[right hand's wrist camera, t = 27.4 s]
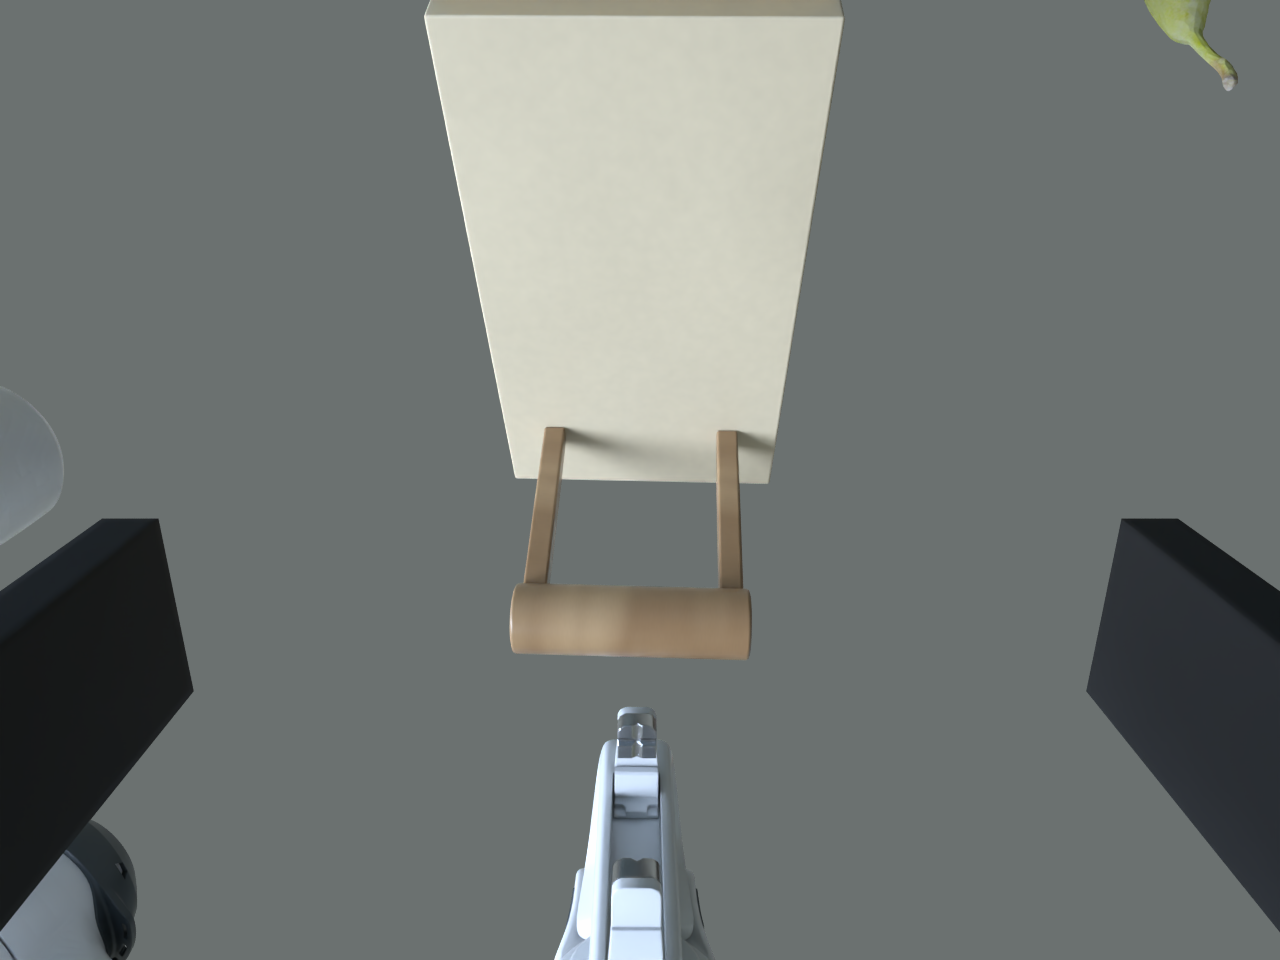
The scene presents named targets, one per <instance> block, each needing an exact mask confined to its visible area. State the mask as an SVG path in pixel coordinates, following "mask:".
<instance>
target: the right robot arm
mask: <svg viewBox="0 0 1280 960" xmlns="http://www.w3.org/2000/svg"><path fill="white" fill-rule="evenodd" d="M192 693H193V686H192V681H191V676H190V671H189V666H188V661H187V656H186V651H185V647H184V642H183V637H182V632H181V627H180V622H179V617H178V612H177V607H176V603H175V598H174V593H173V588H172V583H171V578H170V573H169V568H168V563H167V559H166V554H165V549H164V544H163V539H162V534H161V529H160V524H159V520H158V519H101V520H100V521H98V522H97V523H95V524H94V525H93V526H91V527H90V528H88V529H87V530H86V531H84V532H83V533H81V534H80V535H79V536H77V537H76V538H74V539H73V540H72V541H70V542H69V543H67V544H66V545H65V546H63V547H62V548H60V549H59V550H57V551H56V552H55V553H53V554H52V555H50V556H49V557H48V558H46V559H45V560H44V561H42V562H41V563H39V564H38V565H36V566H35V567H34V568H32V569H31V570H29V571H28V572H27V573H25V574H24V575H22V576H21V577H20V578H18V579H17V580H15V581H14V582H13V583H11V584H10V585H8V586H7V587H6V588H4V589H3V590H1V591H0V932H1V930H2V929H3V928H4V927H5V925H6V924H7V923H8V922H9V920H10V919H11V918H12V917H13V915H14V914H15V913H16V912H17V910H18V909H19V908H20V907H21V905H22V904H23V903H24V902H25V900H26V899H27V898H28V897H29V895H30V894H31V893H32V892H33V891H34V889H35V888H36V887H37V886H38V884H39V883H40V882H41V881H42V879H43V878H44V877H45V876H46V874H47V873H48V872H49V871H50V869H51V868H52V867H53V866H54V864H55V863H56V862H57V861H58V859H59V858H60V857H61V856H62V854H63V853H64V852H65V851H66V849H67V848H68V847H69V846H70V844H71V843H72V842H73V841H74V839H75V838H76V837H77V836H78V834H79V833H80V832H81V831H82V830H83V828H84V827H85V826H86V825H87V823H88V822H89V821H90V820H91V818H92V817H93V816H94V815H95V813H96V812H97V811H98V810H99V808H100V807H101V806H102V805H103V803H104V802H105V801H106V800H107V798H108V797H109V796H110V795H111V793H112V792H113V791H114V790H115V788H116V787H117V786H118V785H119V783H120V782H121V781H122V780H123V778H124V777H125V776H126V775H127V773H128V772H129V771H130V770H131V768H132V767H133V766H134V765H135V763H136V762H137V761H138V760H139V758H140V757H141V756H142V755H143V754H144V752H145V751H146V750H147V749H148V747H149V746H150V745H151V744H152V742H153V741H154V740H155V739H156V737H157V736H158V735H159V734H160V732H161V731H162V730H163V729H164V727H165V726H166V725H167V724H168V722H169V721H170V720H171V719H172V717H173V716H174V715H175V714H176V712H177V711H178V710H179V709H180V708H181V706H182V705H183V704H184V703H185V701H186V700H187V699H188V698H189V696H190V695H191V694H192ZM1087 693H1088V694H1089V695H1090V696H1091V698H1092V699H1093V700H1094V701H1095V702H1096V704H1097V705H1098V706H1099V708H1100V709H1101V710H1102V711H1103V713H1104V714H1105V715H1106V716H1107V717H1108V719H1109V720H1110V721H1111V722H1112V724H1113V725H1114V726H1115V727H1116V729H1117V730H1118V731H1119V732H1120V734H1121V735H1122V736H1123V737H1124V739H1125V740H1126V741H1127V742H1128V744H1129V745H1130V746H1131V747H1132V748H1133V750H1134V751H1135V752H1136V754H1137V755H1138V756H1139V757H1140V759H1141V760H1142V761H1143V762H1144V764H1145V765H1146V766H1147V767H1148V768H1149V770H1150V771H1151V772H1152V773H1153V775H1154V776H1155V777H1156V778H1157V780H1158V781H1159V782H1160V783H1161V785H1162V786H1163V787H1164V788H1165V790H1166V791H1167V792H1168V793H1169V795H1170V796H1171V797H1172V798H1173V800H1174V801H1175V802H1176V803H1177V805H1178V806H1179V807H1180V808H1181V810H1182V811H1183V812H1184V813H1185V815H1186V816H1187V817H1188V818H1189V820H1190V821H1191V822H1192V823H1193V825H1194V826H1195V827H1196V828H1197V829H1198V831H1199V832H1200V833H1201V834H1202V836H1203V837H1204V838H1205V839H1206V841H1207V842H1208V843H1209V844H1210V846H1211V847H1212V848H1213V849H1214V851H1215V852H1216V853H1217V854H1218V856H1219V857H1220V858H1221V859H1222V861H1223V862H1224V863H1225V864H1226V866H1227V867H1228V868H1229V869H1230V871H1231V872H1232V873H1233V874H1234V875H1235V877H1236V878H1237V879H1238V881H1239V882H1240V883H1241V884H1242V886H1243V887H1244V888H1245V889H1246V890H1247V892H1248V893H1249V894H1250V895H1251V897H1252V898H1253V899H1254V900H1255V902H1256V903H1257V904H1258V905H1259V907H1260V908H1261V909H1262V910H1263V912H1264V913H1265V914H1266V915H1267V917H1268V918H1269V919H1270V920H1271V922H1272V923H1273V924H1274V925H1275V927H1276V928H1277V929H1278V930H1279V932H1280V591H1279V590H1277V589H1276V588H1274V587H1273V586H1272V585H1270V584H1269V583H1267V582H1266V581H1265V580H1263V579H1262V578H1260V577H1259V576H1258V575H1256V574H1255V573H1253V572H1252V571H1251V570H1249V569H1248V568H1246V567H1245V566H1244V565H1242V564H1241V563H1239V562H1238V561H1236V560H1235V559H1234V558H1232V557H1231V556H1230V555H1228V554H1227V553H1225V552H1224V551H1223V550H1221V549H1220V548H1218V547H1217V546H1215V545H1214V544H1213V543H1211V542H1210V541H1208V540H1207V539H1206V538H1204V537H1203V536H1201V535H1200V534H1199V533H1197V532H1196V531H1194V530H1193V529H1192V528H1190V527H1189V526H1187V525H1186V524H1185V523H1183V522H1182V521H1180V520H1179V519H1121V524H1120V529H1119V534H1118V539H1117V544H1116V549H1115V554H1114V558H1113V563H1112V568H1111V573H1110V578H1109V583H1108V588H1107V593H1106V598H1105V603H1104V608H1103V612H1102V617H1101V622H1100V627H1099V632H1098V637H1097V642H1096V647H1095V652H1094V657H1093V661H1092V666H1091V671H1090V676H1089V681H1088V686H1087Z"/></svg>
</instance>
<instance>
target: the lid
mask: <svg viewBox="0 0 1280 960" xmlns="http://www.w3.org/2000/svg"><path fill="white" fill-rule="evenodd" d="M424 18H425V23H426V28H427V33H428V38H429V43H430V48H431V53H432V59H433V63H434V69H435V74H436V79H437V84H438V89H439V94H440V99H441V104H442V109H443V114H444V119H445V124H446V129H447V134H448V139H449V144H450V150H451V154H452V160H453V165H454V170H455V175H456V180H457V185H458V190H459V195H460V200H461V205H462V210H463V215H464V220H465V225H466V230H467V235H468V240H469V245H470V250H471V256H472V261H473V266H474V271H475V276H476V281H477V286H478V291H479V296H480V301H481V306H482V311H483V316H484V321H485V326H486V331H487V336H488V341H489V347H490V352H491V356H492V362H493V367H494V372H495V377H496V382H497V387H498V392H499V397H500V402H501V407H502V412H503V417H504V422H505V427H506V432H507V437H508V442H509V448H510V452H511V458H512V463H513V468H514V473H515V477H516V478H531V479H538V480H537V487H536V495H535V502H534V510H533V517H532V524H531V532H530V539H529V547H528V554H527V561H526V569H525V576H524V583H519V584H517V585H516V586H515V589H514V592H513V596H512V602H511V611H510V641H511V647H512V650H513V652H514V653H517V654H550V655H586V656H620V657H655V658H691V659H725V660H747V659H748V658H749V655H750V650H751V636H752V608H751V596H750V592H749V590H747V589H743V569H742V542H741V514H740V487H739V483H759V484H768V483H769V481H770V475H771V469H772V463H773V457H774V450H775V444H776V439H777V432H778V426H779V420H780V414H781V408H782V402H783V396H784V389H785V383H786V377H787V371H788V365H789V359H790V353H791V346H792V340H793V334H794V328H795V322H796V316H797V310H798V304H799V297H800V291H801V285H802V279H803V273H804V267H805V261H806V255H807V248H808V242H809V236H810V230H811V224H812V218H813V212H814V205H815V199H816V193H817V187H818V181H819V175H820V169H821V163H822V156H823V150H824V144H825V138H826V132H827V126H828V120H829V113H830V107H831V101H832V95H833V89H834V83H835V77H836V70H837V64H838V58H839V52H840V46H841V40H842V34H843V27H844V21H845V17H844V12H843V8H842V3H841V0H430V2H429V5H428V8H427V10H426V13H425V16H424ZM562 479H578V480H623V481H668V482H715V483H716V485H717V543H718V588H694V587H655V586H617V585H578V584H550V577H551V568H552V560H553V551H554V542H555V534H556V525H557V516H558V507H559V498H560V490H561V481H562Z"/></svg>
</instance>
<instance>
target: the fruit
mask: <svg viewBox="0 0 1280 960" xmlns="http://www.w3.org/2000/svg"><path fill="white" fill-rule="evenodd" d="M1144 1H1145V3H1146V5H1147V8H1148V10H1149V11H1150V13H1151V15H1152V16H1153V18H1154V19H1155V20H1156V22H1157V23H1158V25H1159V26H1160V27H1161V28H1162V29H1163V30H1164V32H1165V33H1166V34H1167V35H1168V36H1169V37H1170V38H1171V39H1172V40H1174V41H1176V42H1178V43H1181V44H1185V45H1186V44H1189V45H1190V46H1191V47H1192V48H1193V49H1194V50H1195V51H1196V52H1197V53H1198V54H1199V55H1200V56H1201V57H1202V58H1203V59H1204V60H1205V61H1207V62H1208V63H1209V64H1210V65H1211V66H1212V67H1213V68H1214V69H1216V70H1217V71H1218V73H1219V74H1220V76H1221V77H1222V83H1223V86H1224V88H1225V89H1226V90H1227V91H1229V90H1231V89H1232V88H1234V87H1235V86H1236V84H1237V83H1238V76H1237V73H1236V71H1235V70H1234V68H1233V66H1232V65H1231V64H1230V63H1229V62H1228V61H1227V60H1226V59H1224V58H1222V57H1221V56H1219V55H1218V54H1217V53H1216V52H1215V51H1214V50H1213V49H1212V48H1211V47H1210V46H1209V45H1208V43H1207V42H1206V41H1205V39H1204V37H1203V30H1204V27H1205V22H1206V17H1207V13H1208V8H1209V4H1210V1H1211V0H1144Z"/></svg>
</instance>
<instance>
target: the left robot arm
mask: <svg viewBox="0 0 1280 960" xmlns="http://www.w3.org/2000/svg"><path fill="white" fill-rule="evenodd" d="M63 478H64V466H63V457H62V453H61V448H60V445H59V443H58V440H57V438H56V436H55V434H54V432H53V430H52V428H51V427H50V425H49V424H48V423H47V421H46V420H45V419H44V417H43V416H42V415H41V414H40V413H39V412H38V411H37V410H36V409H35V408H34V407H33V406H32V405H31V404H30V403H28V402H27V401H26V400H25V399H23V398H22V397H20V396H19V395H17V394H16V393H14V392H12V391H10V390H8V389H6V388H4V387H2V386H0V545H1V544H3V543H4V542H6V541H7V540H9V539H10V538H12V537H13V536H15V535H16V534H18V533H19V532H21V531H22V530H24V529H25V528H26V527H28V526H29V525H31V524H32V523H33V522H35V521H36V520H37V519H39V518H40V517H42V516H43V515H44V514H46V513H47V512H48V511H50V510H51V509H52V508H53V506H54V505H55V504H56V502H57V500H58V499H59V496H60V493H61V490H62V485H63ZM617 737H618V738H617V739H615V740H610V741H607V742H606V743H605V744H604V746H603V748H602V751H601V755H600V759H599V765H598V772H597V779H596V787H595V795H594V803H593V812H592V820H591V828H590V836H589V844H588V851H587V858H586V864H585V868H583V869H580V870H578V872H577V874H576V881H575V888H573V893H572V900H571V906H570V911H569V916H568V920H567V924H566V930H565V933H564V936H563V939H562V941H561V944H560V946H559V949H558V951H557V954H556V957H555V959H554V960H715V958H714V955H713V953H712V950H711V947H710V945H709V942H708V940H707V937H706V934H705V931H704V925H703V920H702V916H701V911H700V905H699V899H698V891H697V889H696V887H695V877H694V874H693V872H692V871H691V870H690V869H686V866H685V859H684V852H683V844H682V836H681V826H680V816H679V806H678V796H677V787H676V778H675V769H674V763H673V757H672V752H671V749H670V747H669V745H668V744H667V743H666V742H665V741H662V740H656V713H655V711H654V710H653V709H652V708H649V707H625V708H623V709H621V710H620V711H619V713H618V736H617ZM136 909H137V886H136V878H135V871H134V868H133V864H132V862H131V859H130V857H129V855H128V854H127V852H126V850H125V849H124V847H123V846H122V844H121V843H120V842H119V841H118V840H117V839H116V837H115V836H114V835H113V834H112V833H110V832H109V831H108V830H107V829H106V828H104V827H103V826H101V825H100V824H98V823H96V822H95V821H92V820H90V821H89V822H88V823H87V825H86V826H85V827H84V828H83V830H82V831H81V832H80V833H79V834H78V836H77V837H76V838H75V839H74V841H73V842H72V843H71V844H70V846H69V847H68V848H67V849H66V851H65V852H64V853H63V854H62V856H61V857H60V858H59V859H58V861H57V862H56V863H55V864H54V866H53V867H52V868H51V869H50V871H49V872H48V873H47V874H46V876H45V877H44V878H43V879H42V881H41V882H40V883H39V884H38V886H37V887H36V888H35V889H34V891H33V892H32V893H31V894H30V895H29V897H28V898H27V899H26V900H25V902H24V903H23V904H22V905H21V907H20V908H19V909H18V910H17V912H16V913H15V914H14V915H13V917H12V918H11V919H10V920H9V922H8V923H7V924H6V925H5V927H4V928H3V929H2V930H1V932H0V960H126V959H127V957H128V956H129V954H130V952H131V950H132V948H133V946H134V943H135V938H136V927H135V921H134V916H135V913H136ZM125 945H126V946H127V948H126V947H125Z"/></svg>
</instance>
